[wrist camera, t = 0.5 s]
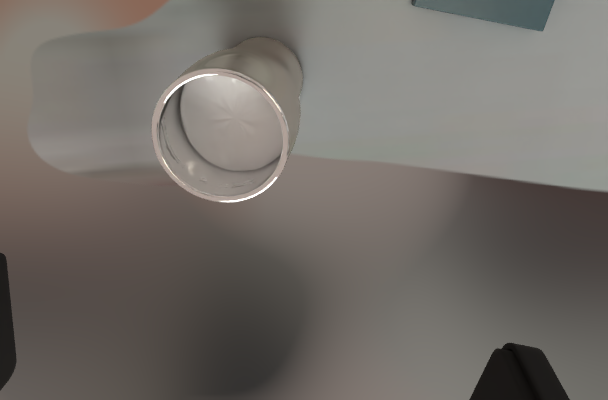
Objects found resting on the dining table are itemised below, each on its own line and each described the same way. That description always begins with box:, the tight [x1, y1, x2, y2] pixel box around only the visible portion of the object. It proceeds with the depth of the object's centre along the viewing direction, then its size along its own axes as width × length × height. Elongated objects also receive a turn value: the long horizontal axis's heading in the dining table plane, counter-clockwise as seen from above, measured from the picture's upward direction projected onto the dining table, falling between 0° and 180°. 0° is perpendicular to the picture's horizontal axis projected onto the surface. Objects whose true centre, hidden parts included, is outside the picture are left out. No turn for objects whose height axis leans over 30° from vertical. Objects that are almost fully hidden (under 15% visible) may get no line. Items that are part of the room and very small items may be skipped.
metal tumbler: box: [151, 37, 303, 202], centre depth 29 cm, size 7×7×15 cm
